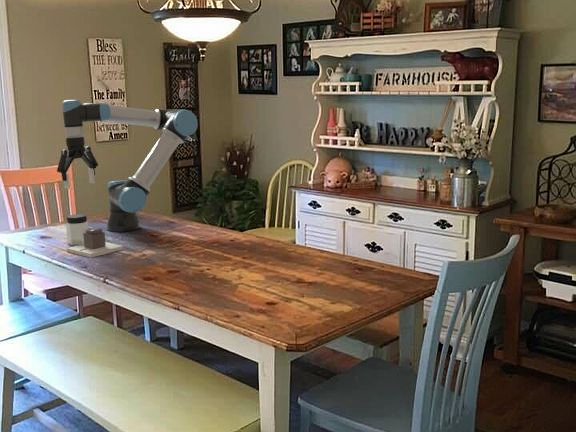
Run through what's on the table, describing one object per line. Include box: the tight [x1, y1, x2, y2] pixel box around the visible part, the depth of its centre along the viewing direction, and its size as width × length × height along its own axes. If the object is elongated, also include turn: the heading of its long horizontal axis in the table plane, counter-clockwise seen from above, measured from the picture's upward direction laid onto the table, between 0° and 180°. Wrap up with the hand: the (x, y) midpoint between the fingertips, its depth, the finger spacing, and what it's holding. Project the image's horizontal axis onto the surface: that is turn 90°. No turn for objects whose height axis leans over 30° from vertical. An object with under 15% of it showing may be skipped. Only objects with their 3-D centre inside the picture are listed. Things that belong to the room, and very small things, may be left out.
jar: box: [65, 213, 89, 246], centre depth 281 cm, size 9×8×12 cm
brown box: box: [83, 226, 106, 249], centre depth 268 cm, size 7×7×8 cm
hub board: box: [66, 241, 124, 258], centre depth 269 cm, size 16×16×7 cm
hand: (79, 185), depth 284 cm, fingers open, 13 cm apart
